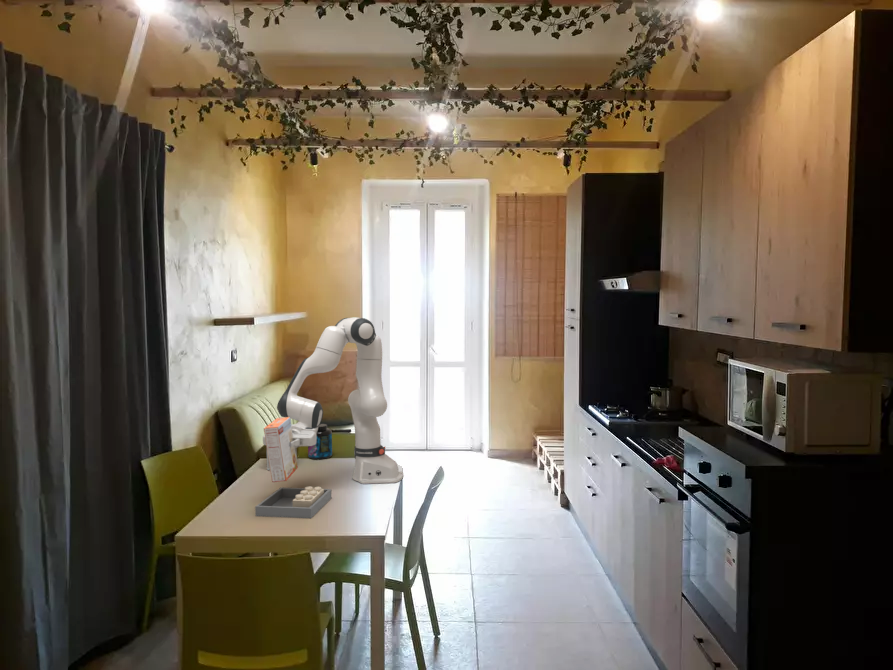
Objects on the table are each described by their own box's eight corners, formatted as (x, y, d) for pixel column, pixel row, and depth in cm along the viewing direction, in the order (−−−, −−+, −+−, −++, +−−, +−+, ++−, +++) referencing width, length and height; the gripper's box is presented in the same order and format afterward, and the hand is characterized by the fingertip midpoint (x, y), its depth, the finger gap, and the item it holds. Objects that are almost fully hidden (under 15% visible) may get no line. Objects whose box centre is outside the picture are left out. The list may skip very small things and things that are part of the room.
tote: (331, 500, 234) (331, 489, 233) (311, 521, 212) (310, 508, 212) (280, 498, 237) (280, 487, 236) (255, 518, 215) (255, 506, 215)
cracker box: (283, 469, 232) (276, 417, 229) (298, 468, 231) (291, 416, 229) (270, 482, 218) (262, 427, 215) (286, 481, 217) (278, 426, 215)
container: (303, 457, 299) (302, 426, 298) (321, 452, 308) (320, 422, 307) (319, 461, 292) (318, 428, 291) (337, 456, 301) (336, 424, 300)
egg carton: (324, 501, 230) (323, 485, 230) (311, 514, 216) (310, 497, 216) (307, 500, 231) (306, 485, 231) (292, 513, 217) (292, 497, 217)
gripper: (270, 427, 239) (255, 435, 226) (319, 428, 236) (306, 436, 223) (271, 443, 240) (255, 451, 226) (320, 444, 237) (307, 453, 223)
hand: (281, 444), depth 224 cm, fingers closed on cracker box, 6 cm apart
